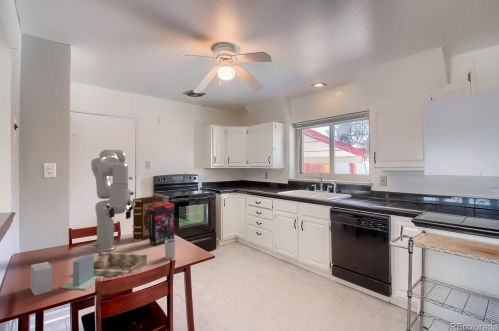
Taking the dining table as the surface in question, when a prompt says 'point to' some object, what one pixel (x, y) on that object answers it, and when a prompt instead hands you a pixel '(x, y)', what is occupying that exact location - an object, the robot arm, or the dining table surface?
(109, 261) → the offcut lower
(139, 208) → the decorative book
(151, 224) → the graphics card box
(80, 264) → the blue gray rectangular block
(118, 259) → the mottled brown tray
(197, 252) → the dining table surface
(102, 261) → the offcut upper
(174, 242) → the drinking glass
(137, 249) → the dining table surface
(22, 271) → the dining table surface
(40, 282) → the skincare box
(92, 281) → the mat
